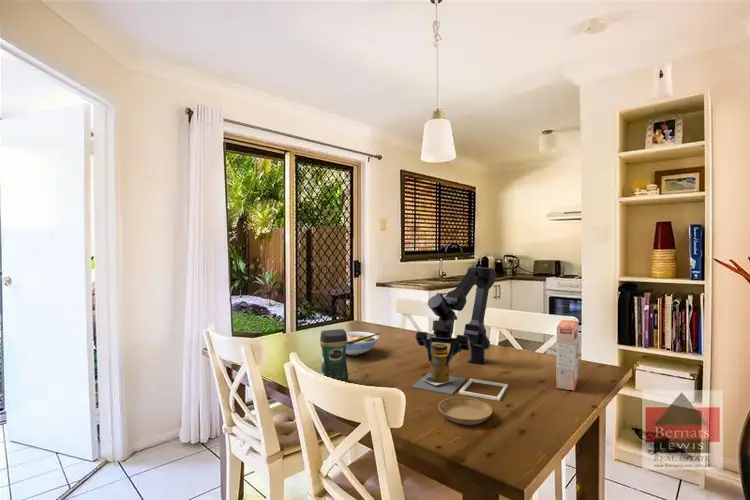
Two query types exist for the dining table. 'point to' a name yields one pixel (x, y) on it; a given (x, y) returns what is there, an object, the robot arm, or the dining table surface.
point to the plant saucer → (465, 410)
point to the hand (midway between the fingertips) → (438, 362)
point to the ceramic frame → (482, 394)
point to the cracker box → (567, 354)
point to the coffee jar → (334, 354)
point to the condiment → (439, 365)
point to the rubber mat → (441, 388)
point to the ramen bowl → (360, 342)
